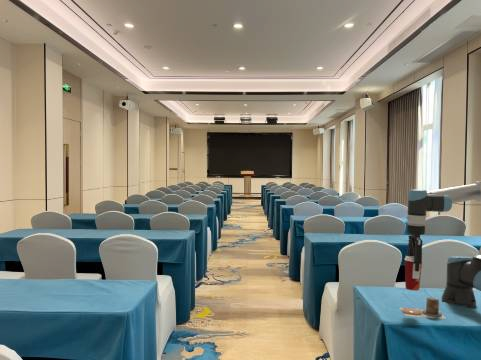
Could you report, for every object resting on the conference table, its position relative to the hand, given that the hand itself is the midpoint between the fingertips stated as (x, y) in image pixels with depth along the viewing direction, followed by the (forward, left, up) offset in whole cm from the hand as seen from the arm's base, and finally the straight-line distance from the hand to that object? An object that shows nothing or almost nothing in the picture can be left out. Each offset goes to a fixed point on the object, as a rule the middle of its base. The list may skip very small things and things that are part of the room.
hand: (413, 276), depth 197 cm
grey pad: (-9, 0, -16) cm, 18 cm away
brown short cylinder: (-9, 0, -16) cm, 18 cm away
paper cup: (0, 0, -6) cm, 6 cm away
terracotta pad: (0, 0, -16) cm, 16 cm away
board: (-4, 0, -17) cm, 18 cm away
